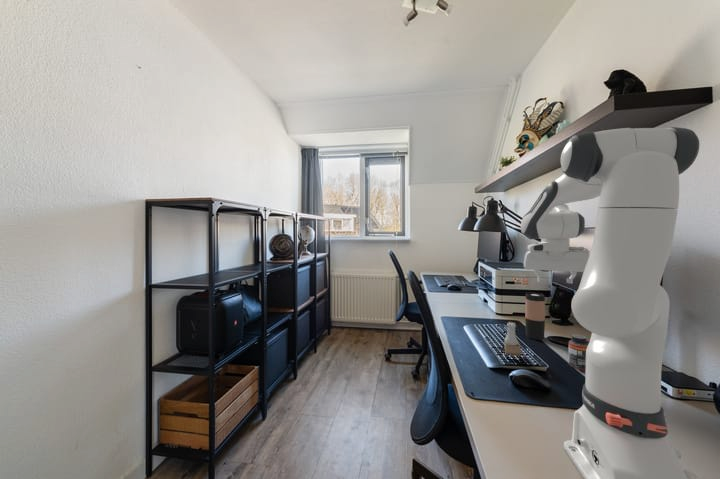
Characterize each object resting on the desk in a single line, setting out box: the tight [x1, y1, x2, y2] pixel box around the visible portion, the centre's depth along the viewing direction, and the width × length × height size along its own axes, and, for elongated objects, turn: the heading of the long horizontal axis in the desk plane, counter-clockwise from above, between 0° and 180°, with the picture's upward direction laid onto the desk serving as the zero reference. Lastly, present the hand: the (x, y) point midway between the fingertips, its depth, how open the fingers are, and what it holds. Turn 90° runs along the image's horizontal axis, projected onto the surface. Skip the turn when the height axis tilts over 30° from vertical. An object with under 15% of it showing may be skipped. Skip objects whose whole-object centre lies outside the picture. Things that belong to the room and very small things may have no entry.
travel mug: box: [524, 291, 546, 341], centre depth 122 cm, size 8×8×20 cm
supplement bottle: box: [568, 333, 589, 372], centre depth 94 cm, size 6×6×11 cm
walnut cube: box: [503, 339, 522, 357], centre depth 102 cm, size 5×5×5 cm
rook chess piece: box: [504, 321, 519, 346], centre depth 102 cm, size 4×4×8 cm
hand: (554, 282), depth 102 cm, fingers open, 8 cm apart
